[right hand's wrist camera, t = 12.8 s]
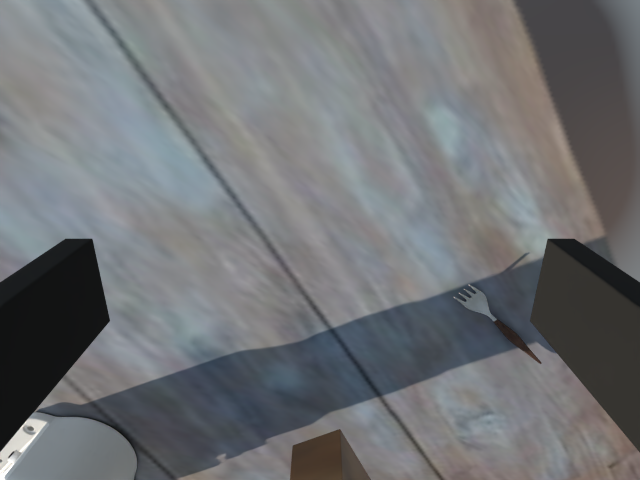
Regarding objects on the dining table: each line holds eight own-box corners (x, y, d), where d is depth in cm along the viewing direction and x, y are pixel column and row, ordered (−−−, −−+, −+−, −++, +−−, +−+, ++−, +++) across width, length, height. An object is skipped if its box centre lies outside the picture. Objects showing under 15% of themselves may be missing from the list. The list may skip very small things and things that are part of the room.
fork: (530, 367, 53) (538, 377, 51) (447, 290, 49) (452, 298, 47) (547, 354, 53) (556, 365, 51) (465, 275, 48) (470, 283, 47)
